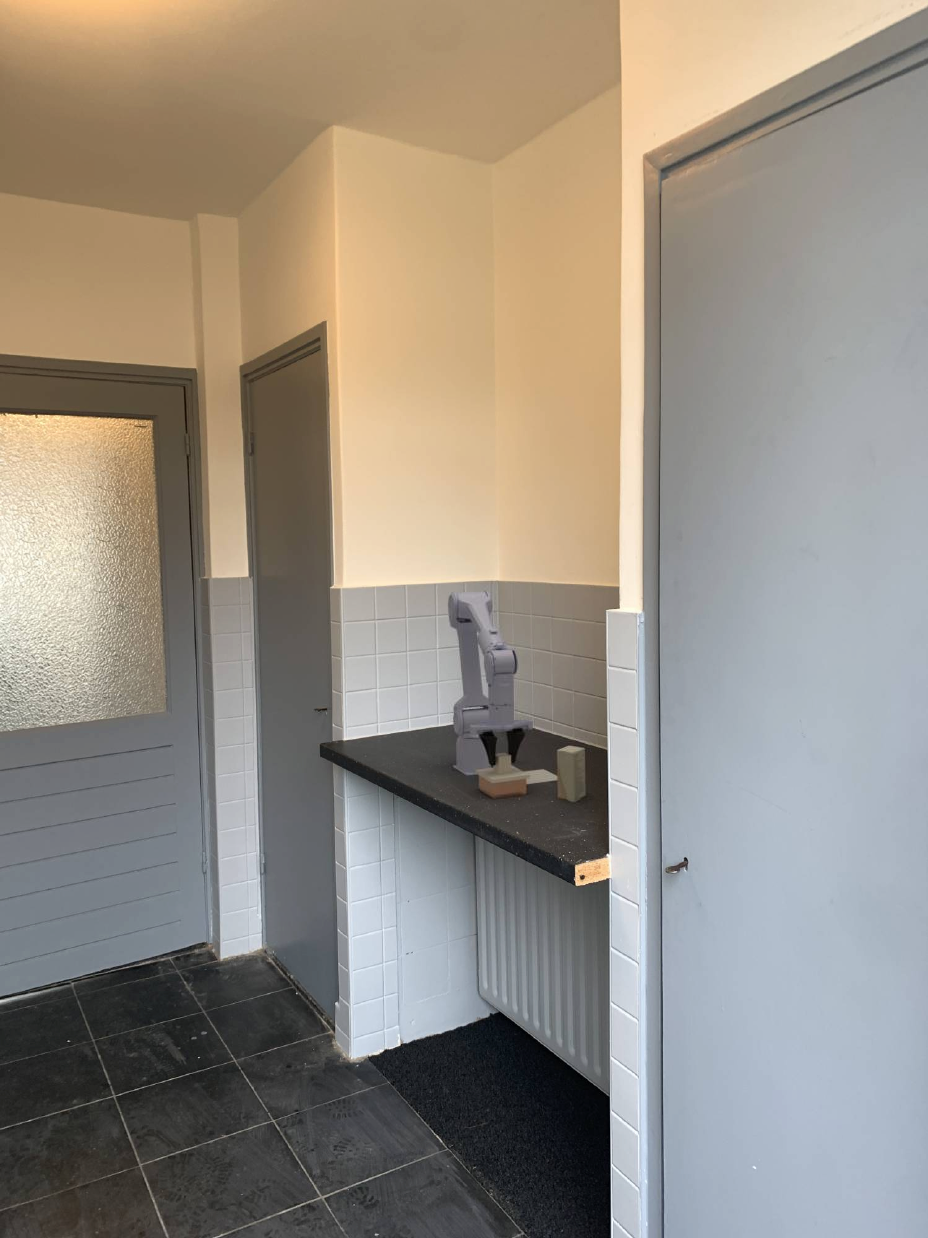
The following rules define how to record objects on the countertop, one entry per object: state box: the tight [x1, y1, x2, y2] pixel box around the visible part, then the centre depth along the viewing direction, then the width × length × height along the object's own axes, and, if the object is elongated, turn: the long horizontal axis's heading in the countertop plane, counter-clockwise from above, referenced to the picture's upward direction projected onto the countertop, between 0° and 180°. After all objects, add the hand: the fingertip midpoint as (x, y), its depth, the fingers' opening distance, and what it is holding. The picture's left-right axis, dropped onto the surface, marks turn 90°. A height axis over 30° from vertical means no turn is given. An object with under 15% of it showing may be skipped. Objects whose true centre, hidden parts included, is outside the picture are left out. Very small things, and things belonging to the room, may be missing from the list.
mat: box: [524, 768, 557, 785], centre depth 214 cm, size 10×10×1 cm
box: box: [556, 745, 586, 803], centre depth 196 cm, size 5×4×11 cm
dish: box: [478, 775, 527, 800], centre depth 201 cm, size 8×8×4 cm
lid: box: [476, 752, 529, 783], centre depth 201 cm, size 9×9×5 cm
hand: (502, 763), depth 201 cm, fingers open, 4 cm apart
